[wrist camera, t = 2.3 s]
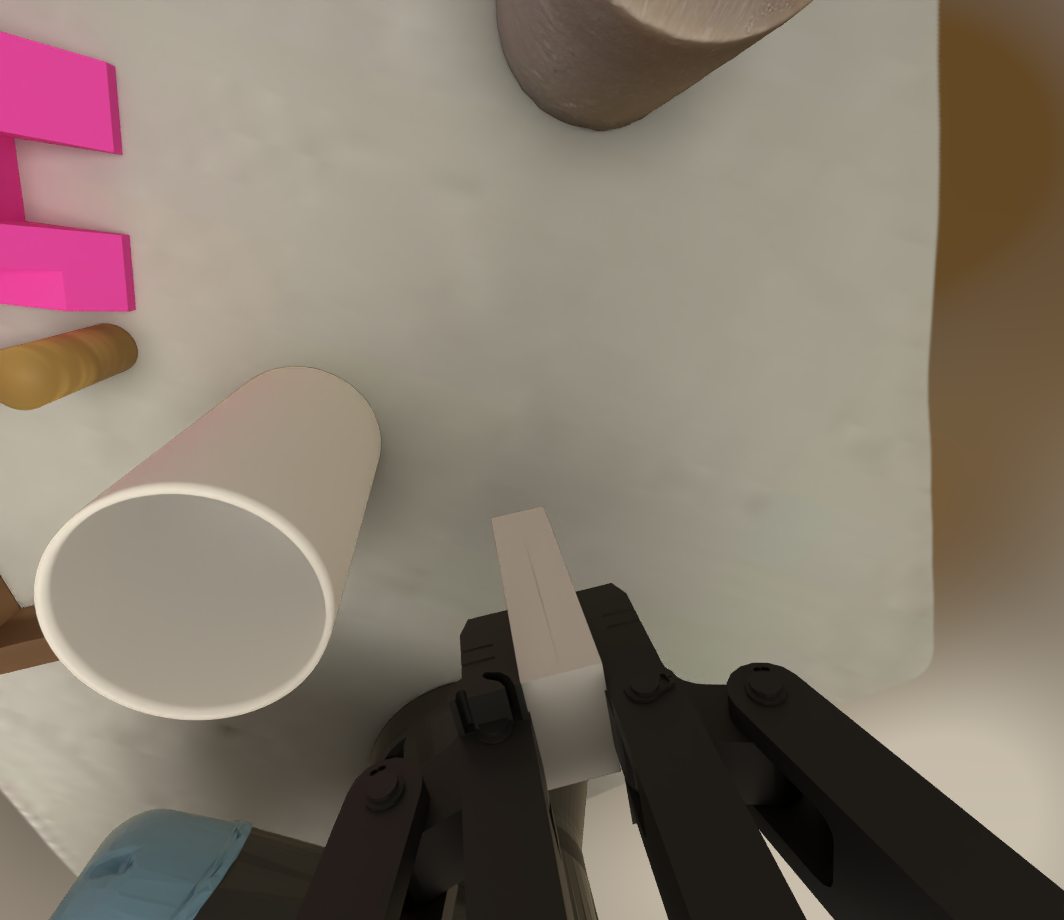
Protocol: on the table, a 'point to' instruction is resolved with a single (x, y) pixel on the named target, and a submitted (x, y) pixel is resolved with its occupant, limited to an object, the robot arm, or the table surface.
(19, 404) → the bay
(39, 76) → the bracket
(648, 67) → the pillar candle
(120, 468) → the table surface
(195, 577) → the cup
